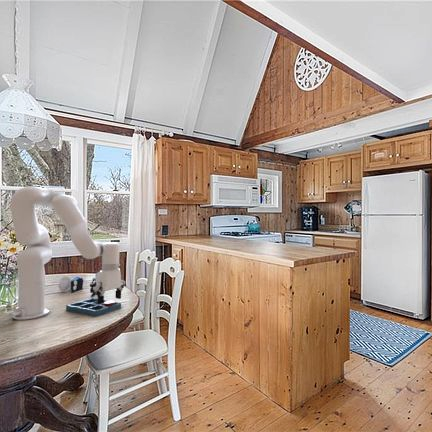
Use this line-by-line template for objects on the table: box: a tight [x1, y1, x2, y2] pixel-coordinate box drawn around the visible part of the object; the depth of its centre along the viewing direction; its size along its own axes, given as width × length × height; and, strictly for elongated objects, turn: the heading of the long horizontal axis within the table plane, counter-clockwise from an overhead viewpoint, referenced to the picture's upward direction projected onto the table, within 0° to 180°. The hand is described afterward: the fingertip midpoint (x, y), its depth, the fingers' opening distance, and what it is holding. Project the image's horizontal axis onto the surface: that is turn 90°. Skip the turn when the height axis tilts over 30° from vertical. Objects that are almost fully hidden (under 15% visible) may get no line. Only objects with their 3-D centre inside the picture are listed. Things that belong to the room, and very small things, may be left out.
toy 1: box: [57, 276, 84, 294], centre depth 185 cm, size 9×11×15 cm
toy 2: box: [89, 271, 100, 298], centre depth 181 cm, size 8×20×15 cm
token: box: [104, 300, 116, 307], centre depth 152 cm, size 5×5×3 cm
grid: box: [65, 297, 122, 318], centre depth 152 cm, size 14×20×3 cm
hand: (109, 300), depth 152 cm, fingers open, 9 cm apart
